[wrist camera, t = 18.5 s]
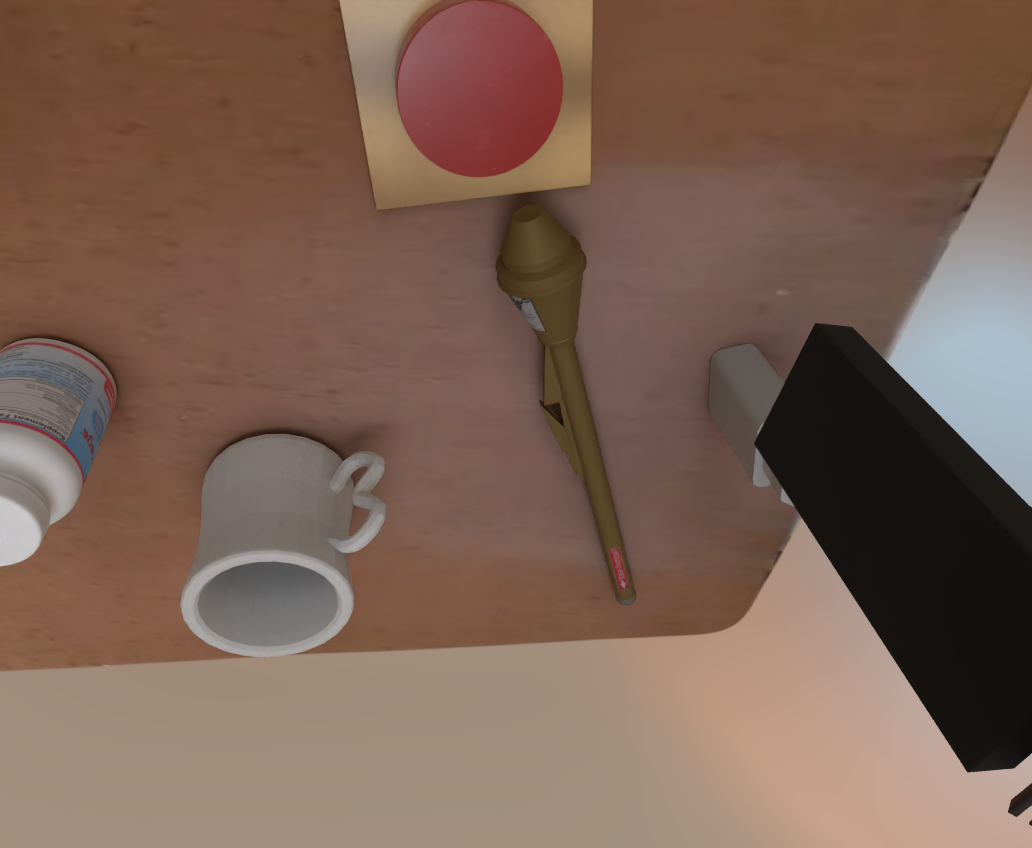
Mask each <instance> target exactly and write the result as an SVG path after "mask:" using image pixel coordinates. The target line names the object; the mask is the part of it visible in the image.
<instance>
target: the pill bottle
mask: <svg viewBox="0 0 1032 848" xmlns="http://www.w3.org/2000/svg"><path fill="white" fill-rule="evenodd" d="M116 398H117V390H116V385H115V382H114V379H113V377H112V375H111V373H110V372H109V370H108V369H107V368H106V366H105V365H104V364H103V363H102V362H101V361H100V360H99V359H97V358H96V357H95V356H93V355H92V354H90V353H88V352H87V351H85V350H83V349H81V348H79V347H77V346H74V345H71V344H68V343H65V342H61V341H57V340H52V339H45V338H31V339H24V340H20V341H17V342H14V343H12V344H10V345H8V346H6V347H5V348H3V349H2V350H0V566H6V565H11V564H15V563H18V562H21V561H23V560H25V559H27V558H28V557H30V556H31V555H32V554H33V553H34V552H35V551H36V550H37V549H38V547H39V546H40V544H41V542H42V539H43V537H44V535H45V534H46V532H47V530H48V528H49V525H51V524H53V523H55V522H57V521H58V520H60V519H61V518H63V517H64V516H65V515H66V514H67V513H68V512H69V511H70V510H71V509H72V508H73V506H74V505H75V503H76V501H77V500H78V497H79V495H80V493H81V491H82V488H83V486H84V483H85V481H86V478H87V476H88V473H89V471H90V468H91V466H92V463H93V461H94V458H95V456H96V453H97V451H98V448H99V445H100V443H101V441H102V438H103V435H104V433H105V430H106V428H107V425H108V423H109V420H110V418H111V415H112V412H113V410H114V407H115V403H116Z"/></svg>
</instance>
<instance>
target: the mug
mask: <svg viewBox="0 0 1032 848" xmlns="http://www.w3.org/2000/svg"><path fill="white" fill-rule="evenodd" d="M363 466H369V467H368V469H367V471H366V472H365V473H364V474H363V476H362V477H361V478H360V480H359V481H358V482H357V484H356V485H355V487H354V484H353V480H352V477H351V474H352V473H353V472H354V471H355V470H356V469H357V468H360V467H363ZM384 470H385V462H384V459H383V458H382V457H381V456H380V455H379V454H377V453H375V452H372V451H361V452H357V453H354V454H353V455H351V456H350V457H348V458H347V459H346V460H344V461H342V459H341V458H340V457H339V456H338V454H336V453H335V452H333V451H332V450H330V449H329V448H327V447H326V446H325V445H323V444H321V443H318V442H316V441H313V440H311V439H308V438H306V437H300V436H295V435H289V434H264V435H260V436H255V437H250V438H246V439H244V440H242V441H239V442H237V443H235V444H233V445H231V446H229V447H228V448H226V449H225V450H224V451H223V452H222V453H220V454H219V455H218V456H217V457H216V458H215V459H214V461H213V463H212V464H211V466H210V467H209V469H208V470H207V473H206V475H205V479H204V484H203V488H202V500H201V529H200V535H199V541H198V547H197V552H196V555H195V558H194V561H193V564H192V566H191V569H190V572H189V574H188V577H187V580H186V583H185V586H184V588H183V593H182V598H181V602H180V606H181V610H182V615H183V619H184V620H185V622H186V623H187V624H188V626H189V627H190V629H191V630H192V631H193V633H194V634H196V635H197V636H198V637H200V638H201V639H202V640H203V641H205V642H206V643H208V644H210V645H212V646H214V647H217V648H219V649H221V650H223V651H227V652H231V653H235V654H239V655H243V656H255V657H274V656H286V655H291V654H295V653H299V652H303V651H307V650H309V649H311V648H314V647H316V646H319V645H321V644H323V643H325V642H326V641H327V640H329V639H330V638H332V637H333V636H335V635H336V634H337V633H338V632H339V631H340V630H341V629H342V628H343V626H344V625H345V624H346V623H347V622H348V620H349V618H350V616H351V613H352V611H353V608H354V592H353V585H352V579H351V573H350V567H349V560H348V553H351V552H357V551H358V550H360V549H361V548H363V547H364V546H366V545H367V544H369V542H370V541H371V540H372V539H373V538H374V537H375V535H376V534H377V533H378V532H379V530H380V528H381V527H382V525H383V523H384V521H385V517H386V505H385V504H384V502H383V501H382V499H381V498H379V497H376V496H374V495H372V494H370V492H371V491H372V489H373V488H374V487H375V485H376V484H377V483H378V481H379V480H380V479H381V477H382V475H383V473H384ZM353 504H354V505H355V506H357V507H360V508H363V509H366V510H370V513H369V515H368V517H367V519H366V520H365V522H364V523H363V524H362V526H361V527H360V528H359V529H358V530H357V531H356V532H355V533H354V534H353V535H351V536H349V528H350V522H351V516H352V510H353Z"/></svg>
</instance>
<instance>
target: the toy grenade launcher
mask: <svg viewBox="0 0 1032 848" xmlns="http://www.w3.org/2000/svg"><path fill="white" fill-rule="evenodd" d="M586 264H587V261H586V256H585V254H584V252H583V251H582V249H581V244H580V243H579V241H578V240H577V239H576V238H575V237H574V236H572V235H570V234H569V233H568V231H567V230H566V229H564V228H563V227H562V226H561V225H560V224H559V223H558V222H557V221H556V220H555V219H554V218H552V217H551V216H550V215H549V214H548V213H547V212H546V211H545V210H544V209H543V208H542V207H540V206H538V205H528V206H524V207H521V208H519V209H517V210H516V211H515V212H514V213H513V214H512V216H511V219H510V222H509V226H508V229H507V232H506V235H505V238H504V241H503V245H502V248H501V254H500V255H499V257H498V259H497V262H496V269H497V272H498V274H497V281H498V284H499V287H500V288H501V289H502V290H503V291H504V292H506V293H507V294H508V295H509V297H510V298H511V299H512V301H513V302H514V304H515V305H516V306H517V308H518V309H519V311H520V312H521V313H522V315H523V316H524V318H525V319H526V320H527V322H528V323H529V325H530V326H531V328H532V329H533V330H534V332H535V333H536V335H537V337H538V339H539V340H540V341H541V342H542V343H543V344H544V376H543V401H544V402H542V401H541V400H540V404H541V407H542V409H543V411H544V413H545V415H546V417H547V420H548V422H549V424H550V426H551V428H552V430H553V432H554V434H555V436H556V438H557V440H558V443H559V445H560V447H561V449H562V451H563V452H565V453H566V455H567V457H568V459H569V462H570V464H571V466H572V468H573V470H574V472H575V474H576V476H584V480H585V484H586V487H587V491H588V495H589V498H590V502H591V505H592V509H593V513H594V516H595V520H596V524H597V527H598V531H599V534H600V538H601V542H602V545H603V549H604V553H605V556H606V560H607V563H608V567H609V571H610V574H611V578H612V582H613V585H614V589H615V595H616V598H617V601H618V602H619V603H620V604H622V605H630V604H632V603H633V602H634V601H635V600H636V592H635V589H634V586H633V582H632V578H631V574H630V570H629V566H628V562H627V558H626V553H625V549H624V545H623V541H622V537H621V533H620V529H619V525H618V520H617V516H616V512H615V508H614V504H613V500H612V496H611V492H610V488H609V483H608V479H607V475H606V471H605V467H604V463H603V459H602V455H601V450H600V446H599V442H598V438H597V434H596V430H595V426H594V422H593V418H592V413H591V409H590V405H589V401H588V397H587V393H586V389H585V385H584V381H583V376H582V372H581V368H580V364H579V360H578V356H577V352H576V348H575V343H574V338H575V336H576V333H577V329H578V325H577V324H578V315H579V306H580V297H581V288H582V279H583V272H584V270H585V268H586ZM557 402H559V403H560V408H561V413H562V418H563V419H562V418H561V417H560V416H559V415H557V414H556V413H555V412H554V411H553V410H552V409H551V408H549V407H548V406H547V405H549V404H553V403H557Z"/></svg>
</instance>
